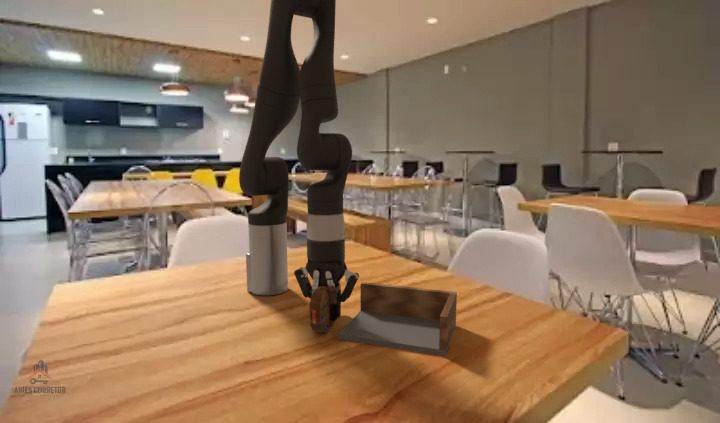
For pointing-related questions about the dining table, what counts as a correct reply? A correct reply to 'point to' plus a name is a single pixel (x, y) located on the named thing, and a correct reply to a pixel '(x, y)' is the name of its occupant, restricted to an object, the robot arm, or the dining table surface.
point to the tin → (321, 310)
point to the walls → (412, 305)
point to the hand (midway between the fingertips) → (326, 318)
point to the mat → (395, 332)
